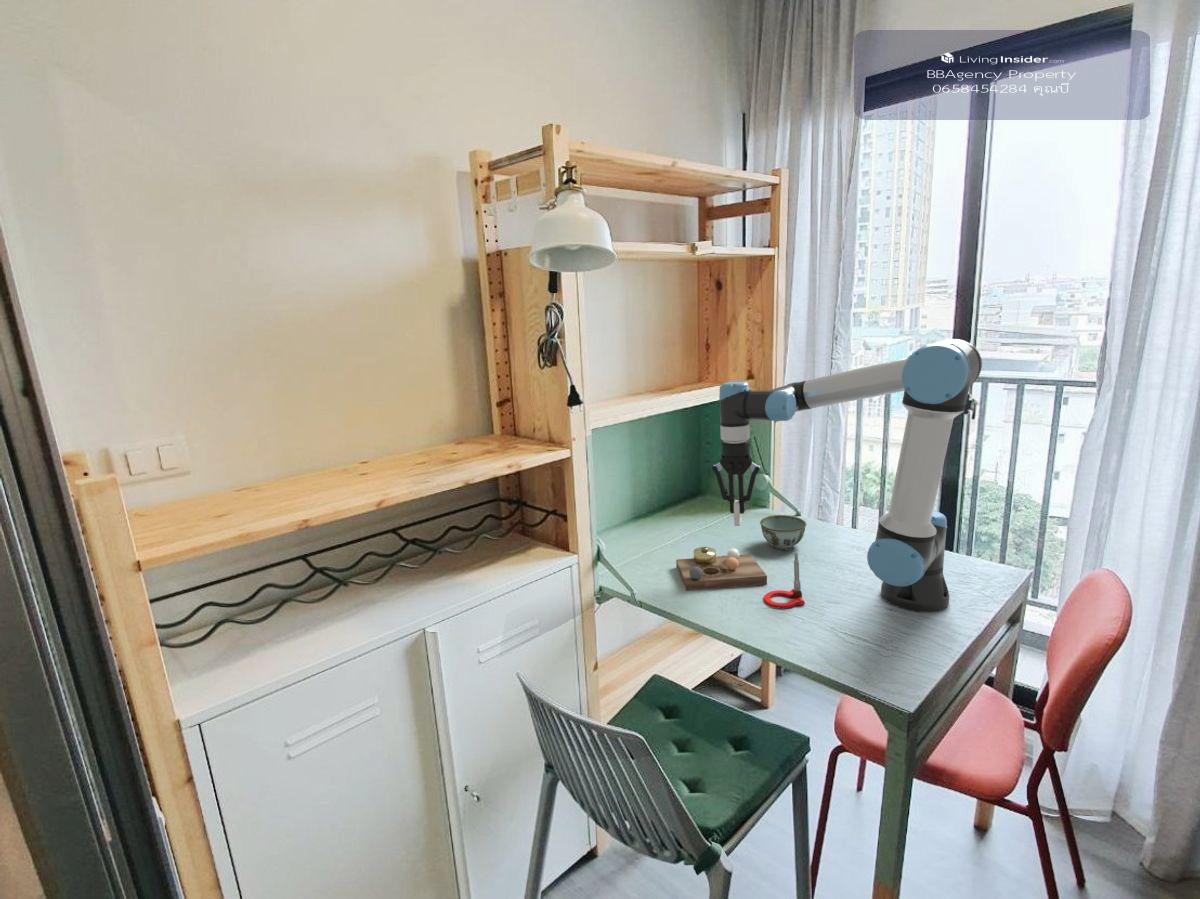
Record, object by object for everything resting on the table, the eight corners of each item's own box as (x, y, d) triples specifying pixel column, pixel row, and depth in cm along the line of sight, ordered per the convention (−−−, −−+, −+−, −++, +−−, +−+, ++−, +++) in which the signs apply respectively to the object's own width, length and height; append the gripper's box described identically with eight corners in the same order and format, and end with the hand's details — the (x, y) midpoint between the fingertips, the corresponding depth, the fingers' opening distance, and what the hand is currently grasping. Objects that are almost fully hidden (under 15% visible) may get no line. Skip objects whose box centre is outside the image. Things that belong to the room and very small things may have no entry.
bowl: (795, 536, 194) (796, 513, 192) (813, 553, 181) (813, 528, 179) (754, 540, 193) (754, 516, 192) (768, 556, 180) (768, 531, 178)
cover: (718, 563, 171) (718, 551, 170) (696, 564, 171) (696, 553, 170) (713, 554, 177) (713, 543, 177) (691, 555, 177) (691, 544, 176)
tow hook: (769, 611, 150) (806, 607, 150) (767, 563, 147) (805, 559, 147) (760, 596, 158) (795, 592, 158) (757, 550, 155) (793, 546, 155)
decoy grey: (703, 581, 161) (703, 568, 161) (690, 582, 161) (690, 569, 160) (701, 575, 165) (700, 563, 164) (688, 576, 165) (688, 564, 164)
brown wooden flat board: (766, 584, 163) (766, 575, 162) (686, 590, 162) (686, 581, 161) (750, 561, 177) (750, 554, 177) (676, 567, 177) (676, 559, 176)
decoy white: (741, 562, 172) (741, 550, 171) (729, 563, 171) (728, 551, 171) (737, 557, 175) (737, 546, 174) (725, 558, 175) (725, 547, 174)
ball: (740, 571, 166) (740, 559, 165) (727, 572, 166) (727, 560, 165) (736, 566, 169) (736, 554, 168) (724, 567, 169) (724, 555, 168)
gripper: (762, 437, 161) (763, 521, 166) (713, 437, 166) (716, 518, 171) (758, 443, 155) (760, 530, 160) (708, 443, 159) (711, 527, 164)
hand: (737, 524), depth 165 cm, fingers closed
